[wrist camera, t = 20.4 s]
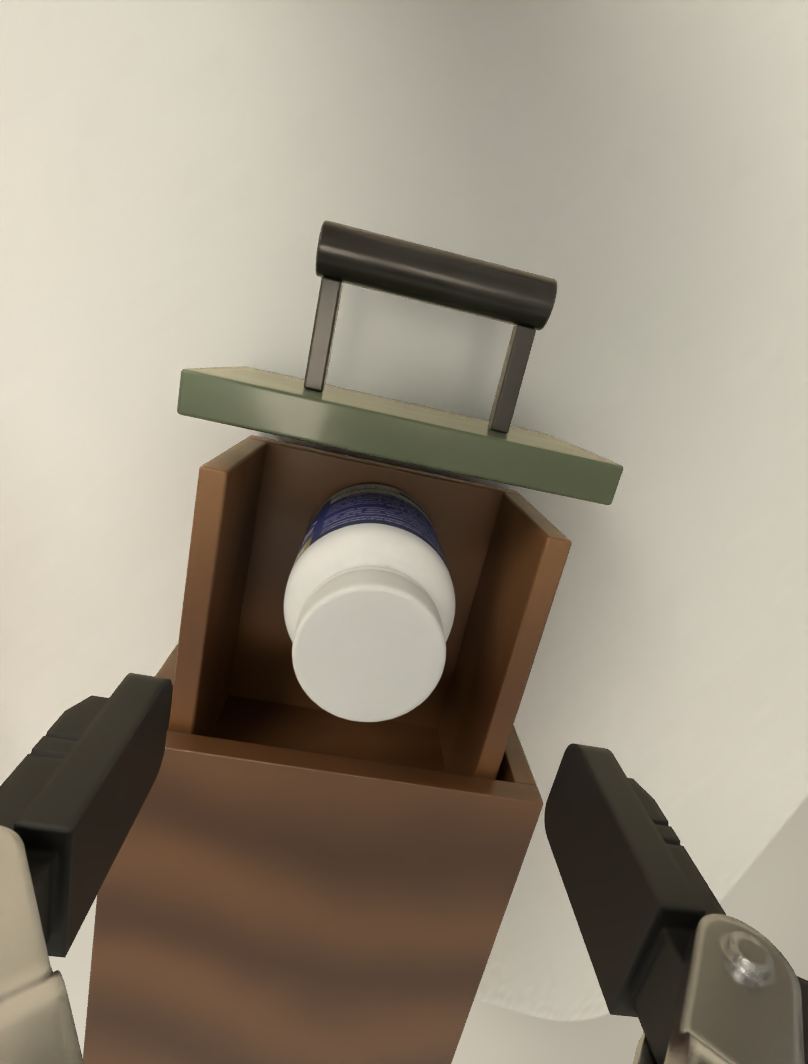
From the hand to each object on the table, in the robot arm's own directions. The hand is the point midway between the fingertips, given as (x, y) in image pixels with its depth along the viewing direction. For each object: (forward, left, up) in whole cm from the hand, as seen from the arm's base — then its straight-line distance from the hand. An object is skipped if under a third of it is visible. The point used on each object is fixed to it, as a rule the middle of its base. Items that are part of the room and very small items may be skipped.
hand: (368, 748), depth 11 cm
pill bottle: (0, 0, -12) cm, 12 cm away
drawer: (-1, 0, -13) cm, 13 cm away
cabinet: (+13, 0, -14) cm, 19 cm away
